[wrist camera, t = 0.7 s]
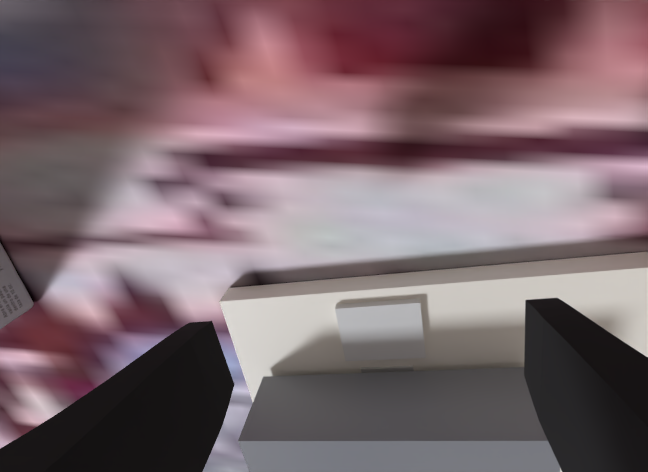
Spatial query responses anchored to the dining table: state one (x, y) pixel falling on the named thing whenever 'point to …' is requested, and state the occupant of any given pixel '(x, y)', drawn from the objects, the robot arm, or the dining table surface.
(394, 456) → the slider
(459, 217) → the dining table surface
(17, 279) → the coffee box
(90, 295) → the dining table surface
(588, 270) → the switch board
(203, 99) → the dining table surface
